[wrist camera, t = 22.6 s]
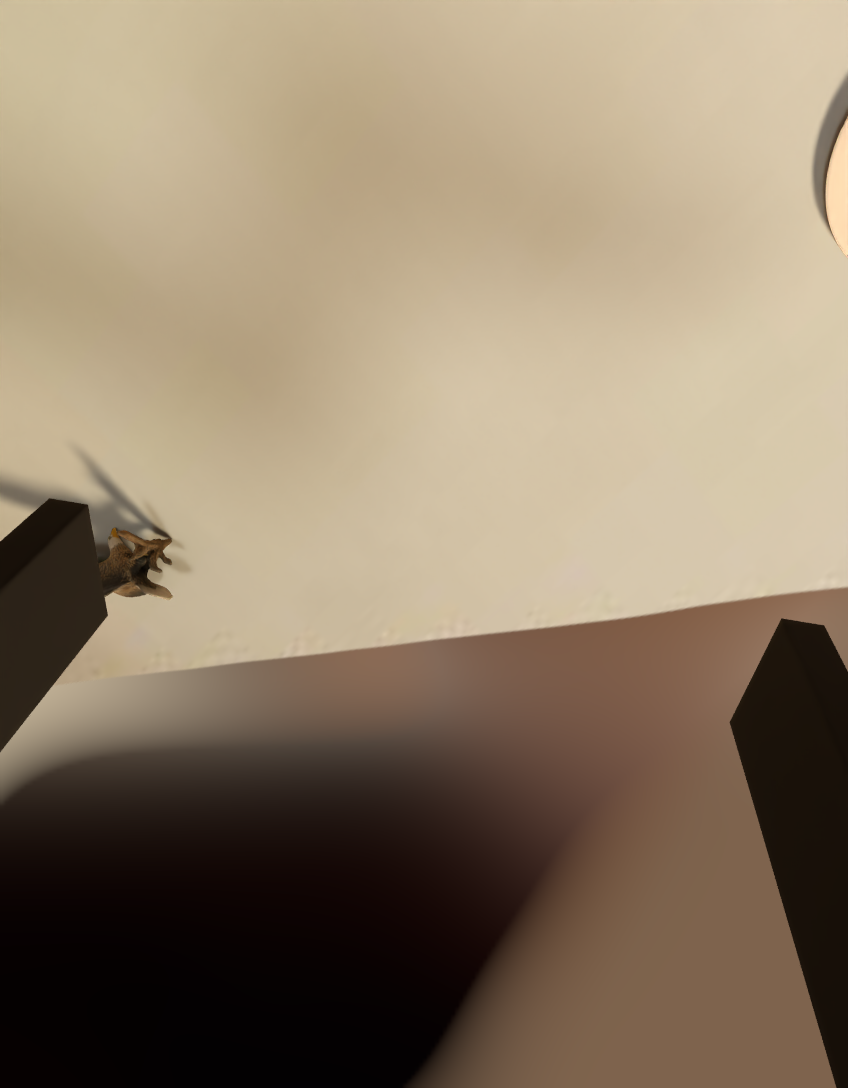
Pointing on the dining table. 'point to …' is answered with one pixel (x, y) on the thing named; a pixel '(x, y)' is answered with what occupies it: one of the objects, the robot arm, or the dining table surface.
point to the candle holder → (838, 190)
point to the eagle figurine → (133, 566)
